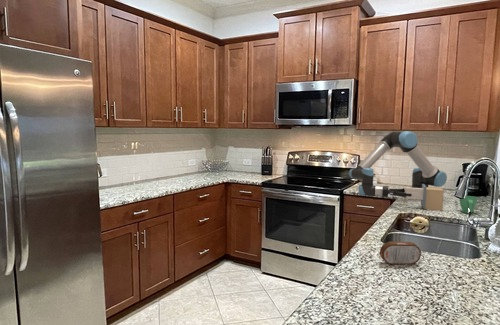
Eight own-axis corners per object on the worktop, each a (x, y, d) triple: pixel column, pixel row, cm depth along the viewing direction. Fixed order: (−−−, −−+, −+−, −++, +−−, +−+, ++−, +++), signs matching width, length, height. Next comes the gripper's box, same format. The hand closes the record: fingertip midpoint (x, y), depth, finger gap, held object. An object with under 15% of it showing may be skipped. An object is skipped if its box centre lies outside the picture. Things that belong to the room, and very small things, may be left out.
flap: (423, 204, 229) (424, 184, 227) (425, 208, 217) (426, 186, 216) (403, 203, 233) (404, 182, 232) (404, 207, 221) (405, 185, 220)
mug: (457, 210, 218) (458, 195, 217) (474, 211, 214) (475, 196, 213) (461, 215, 205) (462, 199, 204) (480, 216, 201) (481, 200, 200)
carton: (440, 207, 225) (441, 188, 223) (442, 211, 215) (443, 190, 214) (423, 206, 228) (424, 187, 227) (425, 209, 219) (426, 189, 218)
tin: (417, 262, 128) (418, 241, 128) (421, 265, 125) (423, 243, 124) (378, 262, 128) (379, 240, 128) (382, 265, 125) (383, 243, 124)
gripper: (381, 193, 242) (414, 195, 234) (381, 199, 218) (417, 202, 211) (382, 183, 241) (414, 185, 233) (382, 188, 218) (418, 190, 210)
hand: (416, 193), depth 222 cm, fingers open, 13 cm apart
